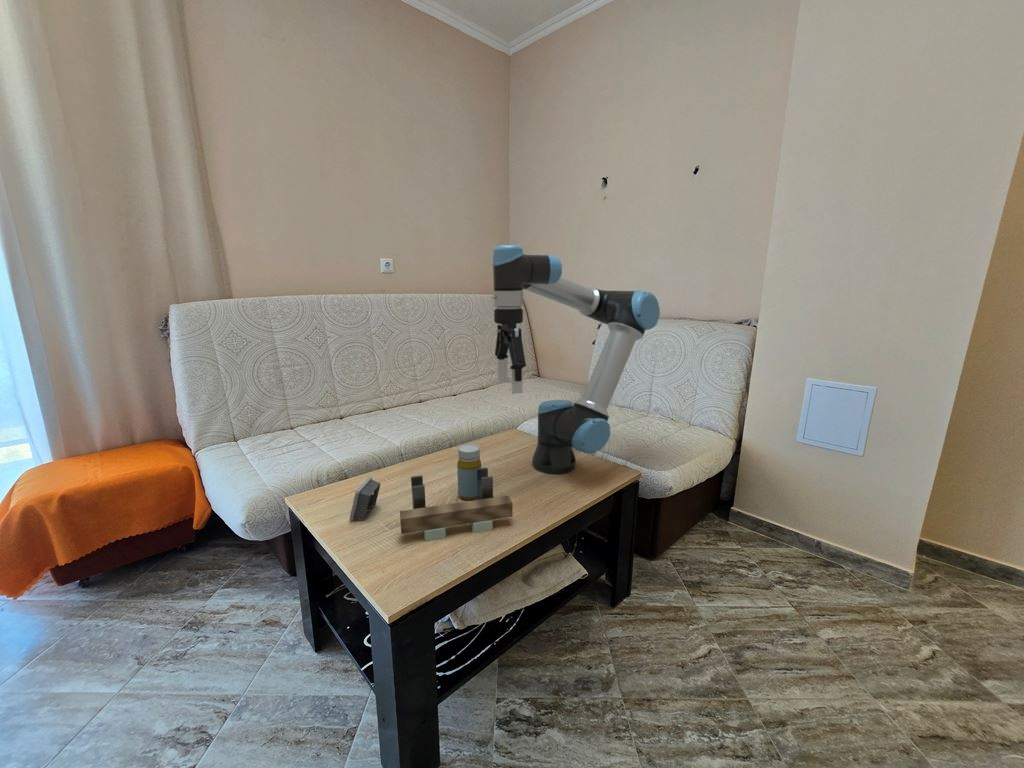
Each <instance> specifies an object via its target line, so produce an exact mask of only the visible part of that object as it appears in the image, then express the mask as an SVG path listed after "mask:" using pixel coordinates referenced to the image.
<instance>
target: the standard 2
mask: <svg viewBox="0 0 1024 768" xmlns="http://www.w3.org/2000/svg"><path fill="white" fill-rule="evenodd" d="M487 498H494V477H493V476H492V475H491V476H490V475H489V468H488V467H481V468H477V499H476V500H480V499H487Z"/></svg>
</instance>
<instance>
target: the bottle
mask: <svg viewBox="0 0 1024 768" xmlns="http://www.w3.org/2000/svg"><path fill="white" fill-rule="evenodd" d="M457 451H458V460H457V465H456V467H457V493H458V494H457V495H458V497H459V498H460V499H462V500H465V501H473V500H477V468H482V461H481V459H480V457H481V456H480V454H481V453H480V451H481V449H480V446H478V445H477V444H462V445H460V446H459V447H458V450H457Z"/></svg>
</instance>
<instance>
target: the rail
mask: <svg viewBox="0 0 1024 768" xmlns="http://www.w3.org/2000/svg"><path fill="white" fill-rule="evenodd" d="M513 505H514V504H513V500H512V499H511V498H510V496H509V495H503V496H497V497H496V496H495V497H494V496H493V498H487V499H480V500H477V499H474V500H466V501H460V502H456V503H455V502H453V503H447V504H439V505H434V506H433V505H432V506H426V507H425V508H418V509H413V508H411V509H406V510H400V511H399V520H400V534H401V535H406V534H413V533H418V532H424V531H426V530H432V529H438V528H445V529H446V528H450V527H456V526H464V525H470V523H476V522H483V521H489V520H492V521H494V520H501V519H507V518H513V508H514V507H513Z"/></svg>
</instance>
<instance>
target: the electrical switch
mask: <svg viewBox="0 0 1024 768" xmlns="http://www.w3.org/2000/svg"><path fill="white" fill-rule="evenodd" d="M380 488H381V482H378V481H376V480H373V477H372V476H368V477H367V478H366V479H365V481H364V482H362V484H361V485H360V486H359V487H358V488H357V489H356V491H355V494H354V496H353V497H354V498H353V503H352V505H351V510H350V514H349V521H351V522H354V520H358V521H362V522H365V520H366V519H367V518H368V516H369V515H370V514H371V512H372V511H373V510H374V509H375V507H376V505H377V501H378V497H379V496H378V495H379V493H380Z"/></svg>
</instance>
